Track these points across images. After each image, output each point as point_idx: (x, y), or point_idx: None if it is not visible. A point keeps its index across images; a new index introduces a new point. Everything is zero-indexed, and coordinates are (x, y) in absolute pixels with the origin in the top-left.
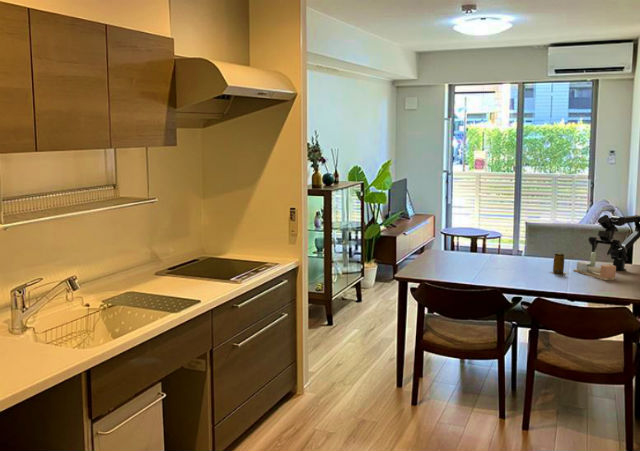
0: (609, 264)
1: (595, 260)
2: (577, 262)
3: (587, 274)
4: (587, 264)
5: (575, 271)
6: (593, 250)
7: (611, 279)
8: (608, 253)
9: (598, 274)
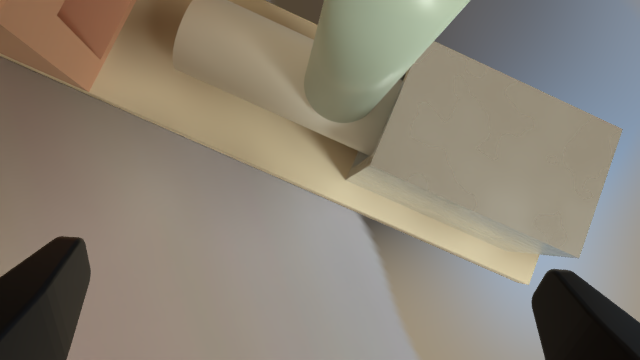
0: (2, 8)
1: (315, 47)
2: (607, 126)
3: None
4: None
5: None
6: (581, 335)
7: None
8: (28, 270)
9: None
